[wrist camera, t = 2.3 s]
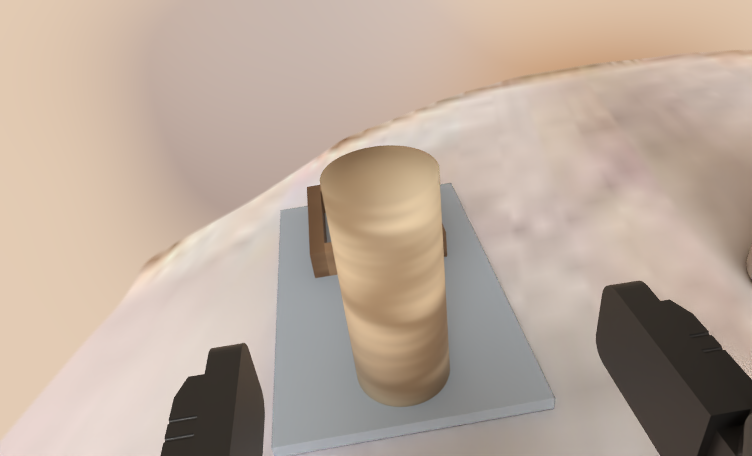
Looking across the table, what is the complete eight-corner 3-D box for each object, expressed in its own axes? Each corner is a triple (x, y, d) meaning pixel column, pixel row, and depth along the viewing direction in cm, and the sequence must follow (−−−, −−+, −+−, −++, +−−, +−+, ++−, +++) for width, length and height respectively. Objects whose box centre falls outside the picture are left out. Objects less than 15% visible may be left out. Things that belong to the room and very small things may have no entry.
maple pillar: (438, 328, 32) (426, 138, 26) (460, 397, 28) (451, 192, 21) (353, 342, 32) (317, 155, 25) (361, 414, 28) (322, 213, 21)
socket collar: (421, 190, 45) (420, 168, 44) (447, 256, 38) (446, 232, 37) (311, 208, 45) (307, 187, 44) (315, 278, 37) (309, 254, 36)
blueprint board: (451, 191, 46) (450, 182, 46) (553, 408, 28) (554, 397, 27) (282, 218, 46) (280, 210, 45) (275, 457, 27) (271, 448, 27)
